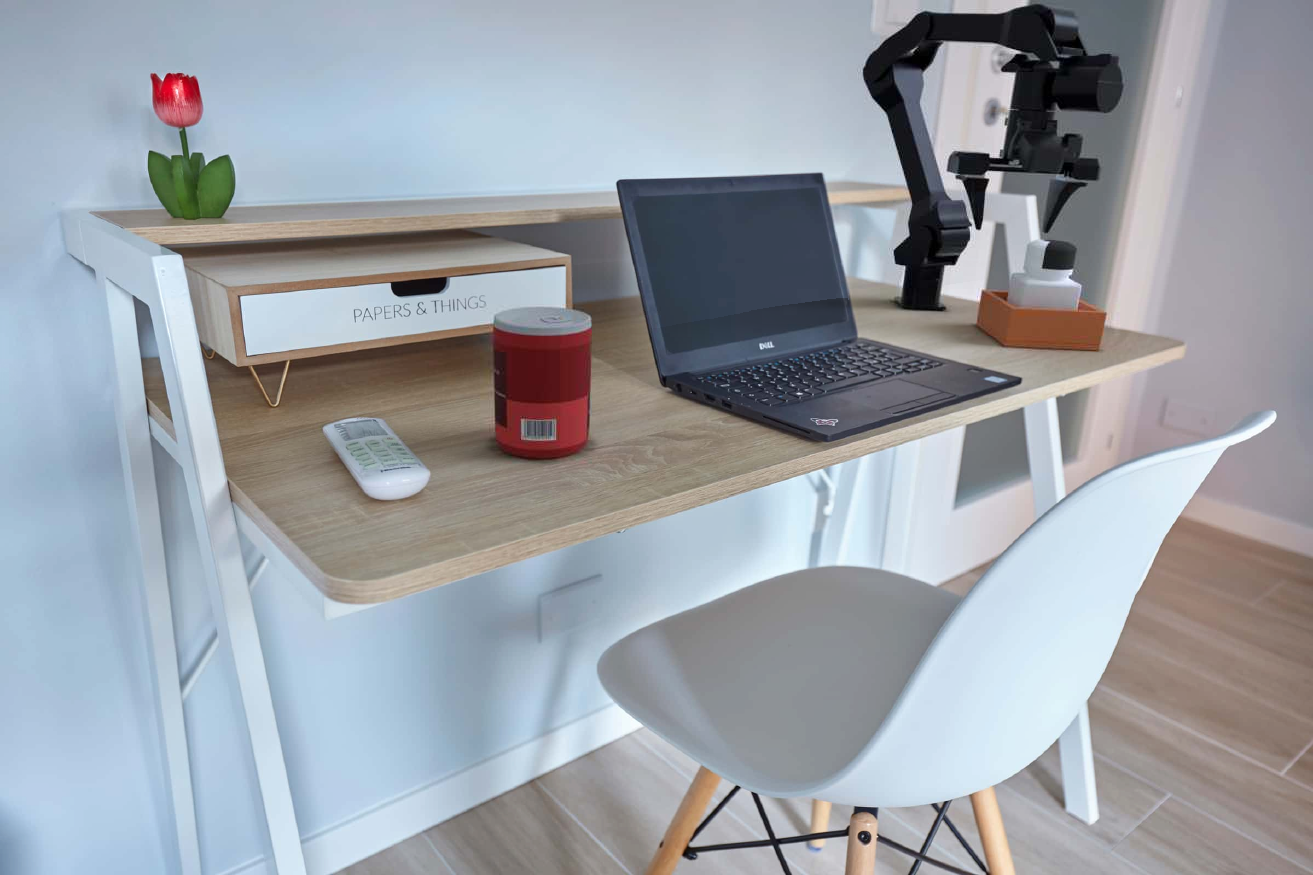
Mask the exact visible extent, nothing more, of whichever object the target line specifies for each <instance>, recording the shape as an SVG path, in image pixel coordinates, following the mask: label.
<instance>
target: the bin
mask: <svg viewBox="0 0 1313 875" xmlns="http://www.w3.org/2000/svg"><path fill="white" fill-rule="evenodd" d="M1008 292H1009V290H995V289H993V290H992V289H981V293H980V298H979V305H978V311H977V316H976V324H975V325H976V326H977V327H978V328H979V329H981V330H982V331H983V332H985V333H986V334H988V335H989V336H991V337H992V338H993V339H995V340H996V341H997V342H998V343H1000V344H1001V345H1002V346H1004V347H1006V348H1007V347H1011V348H1030V349H1052V350H1054V349H1055V350H1073V351H1092V352H1093V351H1094V352H1096V351H1097V352H1098V351H1100V348H1101V342H1102V338H1103V334H1104V329H1105V325H1106V319H1107V314H1108V313H1107V311H1104V310H1102V309H1100V308H1098V307H1096V306H1095V305H1092V304H1090V303H1088V302H1086V301H1084V300H1082V299H1080V298H1079V303H1078V308H1077V310H1064V309H1042V308H1020V307H1015V306H1013V305H1011V304H1010V303H1008V302H1007V298H1008Z"/></svg>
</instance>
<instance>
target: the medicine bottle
mask: <svg viewBox="0 0 1313 875" xmlns="http://www.w3.org/2000/svg"><path fill="white" fill-rule="evenodd" d="M1077 252H1078V248H1077V246H1076V245H1074V244H1072V243H1071V242H1068V241H1064V240H1057V239H1035V240H1032V241H1029V242H1028V243H1027V246H1026V251H1025V257H1024V260H1023V261H1024V262H1023V268H1022V270H1023V271H1024V272H1013V273H1011V276H1010V281H1009V287H1008V291H1009V292H1008V298H1007V302H1008V303H1010V304H1011V305H1013V306H1015V307H1020V308H1042V309H1064V310H1077V308H1078V303H1079V299H1080V298H1081V292H1082V287H1083V286H1082V285H1081V284H1080V283H1078V282H1076V281H1075V280H1073V279H1070V276H1072V275H1073V271H1074V265H1075V261H1076V257H1077Z"/></svg>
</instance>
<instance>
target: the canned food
mask: <svg viewBox="0 0 1313 875" xmlns="http://www.w3.org/2000/svg"><path fill="white" fill-rule="evenodd" d="M492 322H493V323H492V347H493V348H492V350H493V354H492V355H493V396H494V397H493V398H494V402H493V403H494V404H493V405H494V436H495V440H496V442H497V446H498V447H499V449H500V450H502V451H504V453H507V454H509V455H511V456H514V457H520V458H525V459H535V460H536V459H537V460H538V459H539V460H543V459H544V460H545V459H556V458H564V457H567V456H572V455H574V454H577V453H579V452H580V451H581V450H583V449H584V448H585V447H586V446H587V443H588V441H589V437H590V429H591V428H590V424H591V386H592V382H591V380H592V348H593V346H592V345H593V336H592V335H593V334H592V333H593V330H592V329H593V324H592V317H591V315H589V314H587V313H585V312H583V311H580V310H576V309H572V308H565V307H555V306H525V307H515V308H510V309H509V308H508V309H505V310H502V311H499V312H498V313H496V314H495V315H494V316H493V321H492Z"/></svg>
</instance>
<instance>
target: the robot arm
mask: <svg viewBox="0 0 1313 875" xmlns="http://www.w3.org/2000/svg"><path fill="white" fill-rule="evenodd" d="M944 43H961V44H983V45H984V44H987V45H999V46H1002V47H1004V48H1007V49H1010V50H1014V51H1017V52H1020V53H1015V54H1014V56H1013V57H1012V58H1011V59H1010V60H1009V61H1007V62H1005V64H1004V65H1002V66H1001V68H1000V72H1002V73H1007V74H1014V80H1013V86H1012V92H1011V98H1010V105H1009V111H1008V117H1004V123H1003V126H1006V128H1005V133H1004V141H1003V147H1002V149H999V153H998V154H999V155H998V157H991V156H990V155H991V154H990V153H988V152H981V151H970V150H969V151H968V150H967V151H966V150H953V151H952V153H951V154H949V156H948V158H947V166H946V172H948V173H952V174H955V180H960V181H961V182H962V185H963V188H964V190H965V192H966V195H967V198H968V203H969V205H970V206H969V207H970V210H971V214H972V219H973V223H972V222H971V221H970V219H969V215H968V212H967V206H966V203H965V201H964V200H963V199H952V198H951V197H950V196H949V195H948V194H947V192H946V189H945V185H944V182H943V180H942V176H941V172H940V169H939V166H938V161H937V158H936V155H935V151H934V147H933V144H932V141H931V138H930V134H929V130H928V127H927V124H926V121H925V117H924V113H923V110H922V107H921V98H922V94H923V91H924V86H925V82H924V72H926V71H927V69H929V67H931V65H932V64H933V63H934V61H935V58H936V56H937V54H938V51H939V48H941V46H942V45H943V44H944ZM1021 52H1022V53H1021ZM1024 53H1025V54H1024ZM1028 54H1032V55H1034V56H1035V57H1037V58H1038V59H1030V58H1029V56H1028ZM1119 60H1120V55H1119V54H1118V53H1116V54H1115V53H1099V54H1095V55H1090V53H1089V51H1088V49H1087V47H1086V45H1085V42H1084V41H1083V38H1082V36H1081V34H1080V32H1079V20H1078V17H1077V15H1076V13H1075V10H1073V9H1071V8H1067V7H1062V6H1055V5H1049V4H1042V3H1033V4H1028V5H1024V6H1019V7H1015V8H1012V9H1010V10H1008V11H1004V12H999V13H981V12H980V13H977V12H975V13H974V12H972V13H971V12H968V13H967V12H937V11H929V10H924V11H921V12H919V13H917V14H916V15H914V16H913V18H912V19H910V21H909V22H908V23H907V24H906V25H905V26H904V27H902V28H900V29H899V30H898V31H897V32H895V33H893V34H891V35H890V36H889V37H887V38H886V39H885V40H884V41H883V42H882V43H881V44H880V45H879V46H878V47H877V48H876V49H875V50H873V51H872V52H871V53H870V54H869V55H868V57H867V59H866V61H865V65H864V66H863V67H862V78H863V82H864V84H865V86H866V88H867V90H868V92H869V94H870V97H871V99H872V100H873V102H875V103H876V104H877V105H878V106H879V108H881V110H882V111H883V112H884V113H885V115H886V117H887V121H888V124H889V127H890V132H891V135H892V138H893V141H894V145H895V148H896V151H897V152H896V153H897V156H898V159H899V162H900V166H901V169H902V172H903V176H904V180H905V184H906V187H907V191H908V194H909V196H910V200H911V209H910V213H909V216H908V217H909V218H908V221H907V227H908V236H907V237H905V239H903V241H902V242H901V243H899V244H898V245H896V247H895V248H894V249H893V251H892V252H893V259H894V264H895V265H898V266H902V267H904V274H903V280H902V281H903V282H902V288H901V296H894V298H893V299H894V301H895V302H896V303H897V304H898V305H900V307H902V308H904V309H920V310H921V309H922V310H938V311H939V310H940V311H943V310H944V311H945V310H946V311H947V305H945V304H944V303H943V302H941V295H942V294H941V293H942V288H943V282H944V274H945V267H947V266H952V267H953V266H956V264H957V263H958V260H959V258H960V256H961V254H962V253H963V252H964V251H965V249H967V247H968V244H969V242H970V241H971V230H970V227H973V224H974V227H975V230H976V231H981V230H982V227H983V222H984V213H985V203H986V202H985V200H986V193H987V192H986V191H987V188H988V185H989V183H990V178H987V177H985V176H986V173H987V172H999V173H1000V172H1001V173H1002V172H1003V173H1021V174H1023V173H1024V174H1042V175H1044V174H1046V175H1056V177H1055V178H1050V180H1049V184H1048V191H1047V196H1046V203H1045V206H1044V207H1045V208H1044V214H1043V219H1042V234H1049V232H1050V231H1051V229H1052V227H1053V225H1054V224H1055V221H1056V220H1057V218H1058V216H1059V215H1060V213H1061V212H1062V209H1063V208H1064V206H1065V204H1066V203H1067V201H1068V200H1069V199H1070V197H1071V196H1072V195H1073V194H1074V193H1075V192H1077V191H1078V190H1079V189H1080V188H1087V186H1088V185H1089V183H1088V182H1085V181H1090V182H1091V181H1094V182H1099V181H1100V178H1101V171H1102V164H1101V161H1100V159H1099V158H1096V157H1089V156H1081V154H1082V148H1083V143H1084V137H1083V135H1081V133H1075V132H1074V133H1073V132H1072V133H1071V132H1066V133H1064V135H1063V136H1062V135H1060V136H1059V135H1058V122H1059V121H1058V119H1055V118H1056V114H1057V113H1056V112H1057V108H1058V109H1059V110H1060V111H1062V112H1064V113H1087V114H1089V113H1090V114H1108V113H1111V112H1112V111H1113V110H1115V108H1116V107H1117V106H1118V104H1119V103H1120V100H1121V97H1122V95H1123V91H1124V87H1125V85H1124V83H1123V72H1122V69H1121V68H1120V66H1119V65H1118V64H1119ZM1052 63H1059V64H1058V67H1056V68H1055V67H1054V65H1053V64H1052ZM1014 161H1018V163H1012V162H1014ZM1010 162H1011V164H1010Z"/></svg>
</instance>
